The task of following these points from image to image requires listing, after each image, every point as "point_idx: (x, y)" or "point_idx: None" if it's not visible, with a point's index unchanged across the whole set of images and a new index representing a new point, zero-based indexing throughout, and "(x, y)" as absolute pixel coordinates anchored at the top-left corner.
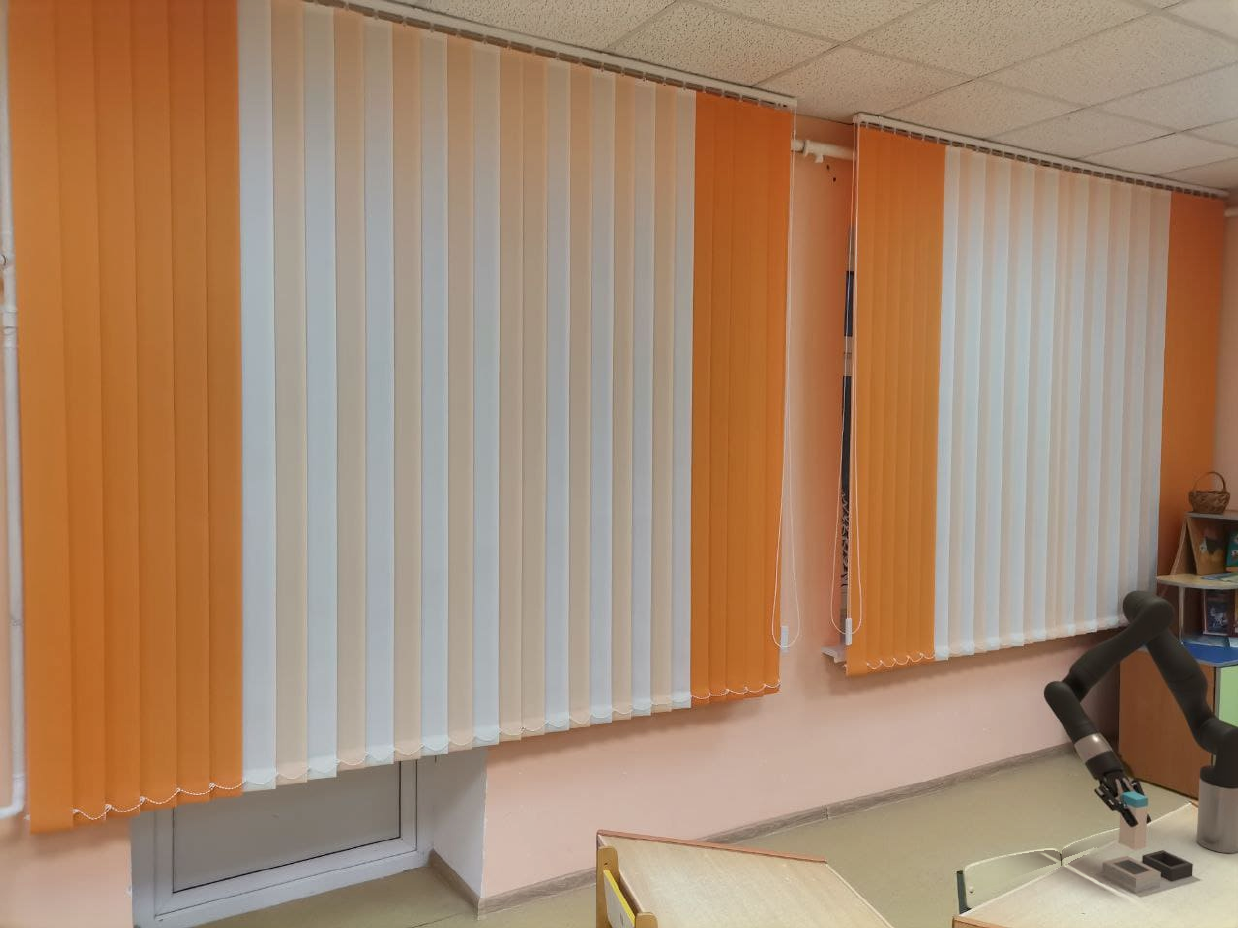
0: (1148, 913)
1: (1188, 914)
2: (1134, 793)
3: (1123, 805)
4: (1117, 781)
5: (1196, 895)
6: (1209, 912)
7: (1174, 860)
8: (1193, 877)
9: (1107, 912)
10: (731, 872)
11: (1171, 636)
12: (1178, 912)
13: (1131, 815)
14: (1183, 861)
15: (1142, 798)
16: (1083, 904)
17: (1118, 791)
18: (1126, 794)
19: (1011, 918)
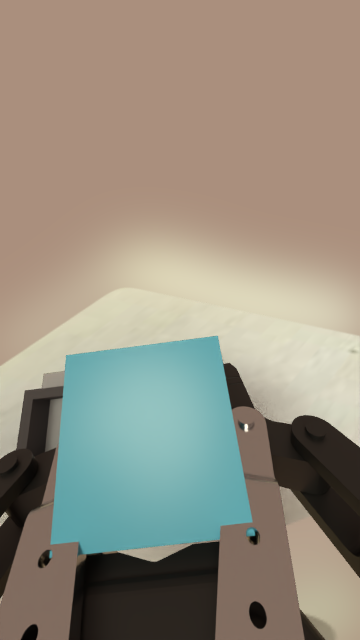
0: (232, 322)
1: (169, 306)
2: (98, 480)
3: (265, 424)
4: None
5: (97, 347)
6: (131, 303)
7: (34, 428)
8: (48, 385)
9: (304, 342)
10: None
11: None
12: (179, 314)
13: (226, 378)
14: (32, 405)
15: (137, 350)
16: (333, 375)
17: (292, 575)
18: (216, 480)
19: None
